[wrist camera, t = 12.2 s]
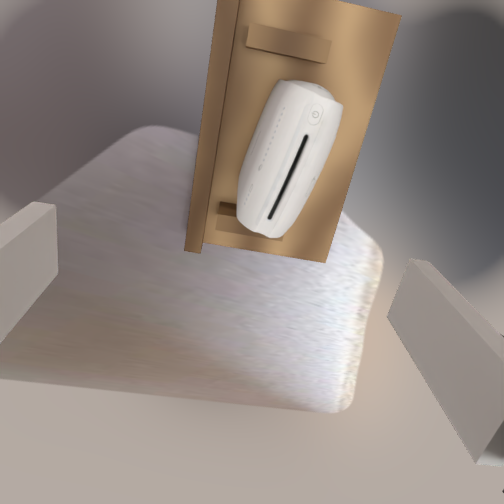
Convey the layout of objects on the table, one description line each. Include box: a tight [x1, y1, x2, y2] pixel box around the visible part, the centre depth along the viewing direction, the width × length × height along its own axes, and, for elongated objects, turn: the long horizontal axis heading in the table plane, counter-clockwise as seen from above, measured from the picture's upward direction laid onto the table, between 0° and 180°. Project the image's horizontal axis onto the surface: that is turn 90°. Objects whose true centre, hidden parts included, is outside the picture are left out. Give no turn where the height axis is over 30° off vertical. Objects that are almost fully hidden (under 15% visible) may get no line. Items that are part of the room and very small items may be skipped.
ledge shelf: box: [184, 0, 402, 263], centre depth 33 cm, size 14×22×5 cm, turn 169°
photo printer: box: [237, 79, 343, 238], centre depth 29 cm, size 10×4×12 cm, turn 158°
